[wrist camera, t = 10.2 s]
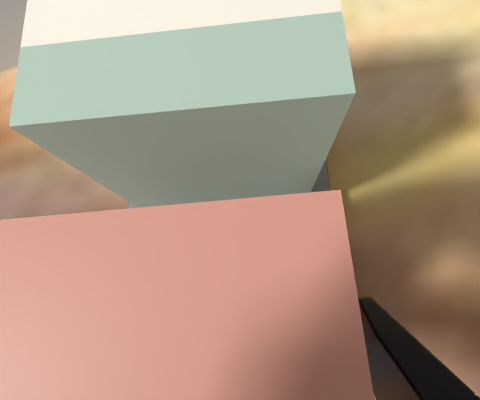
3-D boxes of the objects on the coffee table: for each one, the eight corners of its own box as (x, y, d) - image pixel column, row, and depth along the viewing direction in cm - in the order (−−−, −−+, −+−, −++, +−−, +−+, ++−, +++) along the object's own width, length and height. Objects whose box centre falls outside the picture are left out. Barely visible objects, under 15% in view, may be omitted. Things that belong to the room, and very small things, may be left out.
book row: (305, 204, 19) (356, 93, 8) (151, 215, 19) (8, 126, 9) (296, 125, 20) (329, -59, 9) (153, 138, 20) (30, -22, 10)
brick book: (296, 326, 17) (380, 435, 4) (174, 333, 17) (-70, 455, 5) (288, 258, 18) (340, 189, 5) (173, 267, 18) (-33, 222, 6)
